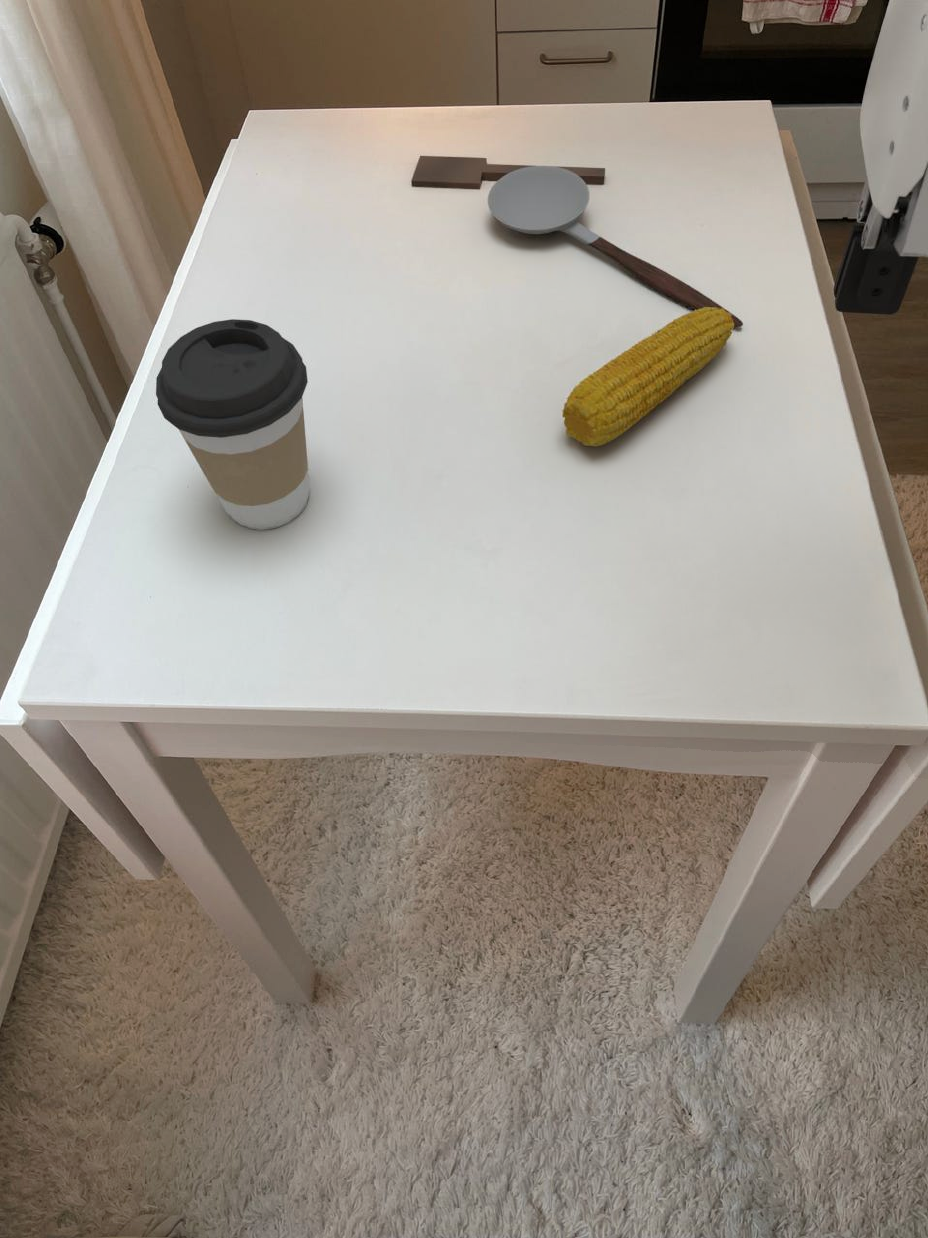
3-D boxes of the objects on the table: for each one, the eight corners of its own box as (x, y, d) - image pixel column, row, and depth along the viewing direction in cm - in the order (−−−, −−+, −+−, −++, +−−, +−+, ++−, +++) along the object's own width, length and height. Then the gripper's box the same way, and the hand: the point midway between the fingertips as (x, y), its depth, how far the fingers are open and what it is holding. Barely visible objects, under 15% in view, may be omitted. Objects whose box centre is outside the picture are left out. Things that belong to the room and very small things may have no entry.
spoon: (538, 177, 109) (538, 152, 106) (774, 310, 95) (780, 285, 92) (468, 224, 106) (466, 200, 103) (702, 369, 91) (706, 345, 89)
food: (601, 468, 82) (605, 415, 77) (551, 438, 84) (553, 385, 80) (742, 349, 90) (754, 294, 86) (693, 325, 93) (702, 271, 88)
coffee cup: (353, 465, 84) (325, 321, 72) (302, 562, 77) (262, 422, 65) (236, 442, 86) (190, 300, 74) (178, 534, 80) (116, 394, 68)
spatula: (606, 167, 111) (606, 158, 110) (602, 193, 108) (603, 184, 107) (420, 160, 114) (419, 152, 113) (411, 186, 110) (410, 177, 110)
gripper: (1167, -34, 31) (959, 403, 46) (1069, -179, 40) (920, 228, 54) (925, -36, 32) (797, 392, 47) (881, -177, 41) (785, 222, 55)
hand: (864, 303), depth 51 cm, fingers closed
